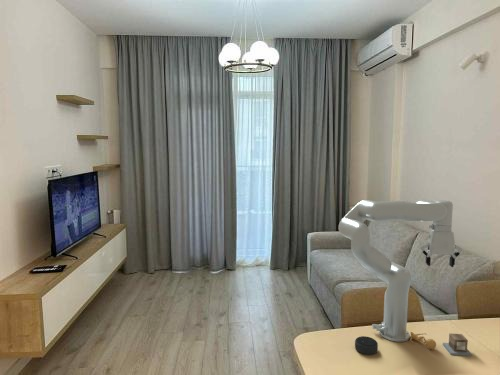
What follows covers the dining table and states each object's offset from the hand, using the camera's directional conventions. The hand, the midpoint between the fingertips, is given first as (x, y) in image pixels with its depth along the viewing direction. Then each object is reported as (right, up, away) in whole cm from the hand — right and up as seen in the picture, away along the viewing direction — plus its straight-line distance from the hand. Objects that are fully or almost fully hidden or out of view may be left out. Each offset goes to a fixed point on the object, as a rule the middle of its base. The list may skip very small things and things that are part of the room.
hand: (439, 265), depth 166 cm
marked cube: (0, -31, -15) cm, 34 cm away
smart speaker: (-38, -32, -14) cm, 51 cm away
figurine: (-10, -31, -15) cm, 36 cm away
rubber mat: (0, -32, -14) cm, 35 cm away
